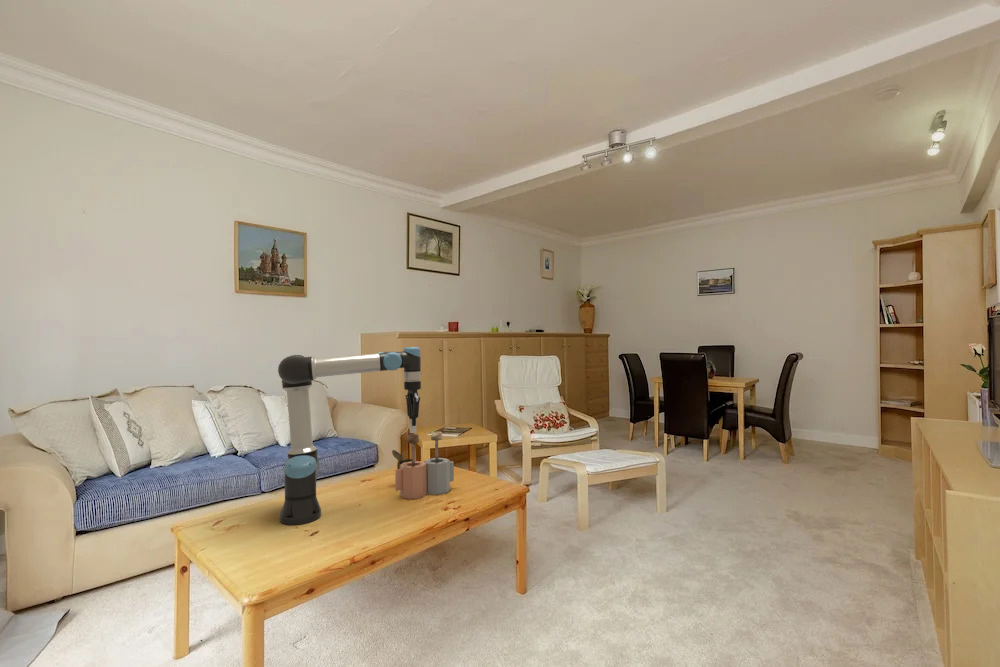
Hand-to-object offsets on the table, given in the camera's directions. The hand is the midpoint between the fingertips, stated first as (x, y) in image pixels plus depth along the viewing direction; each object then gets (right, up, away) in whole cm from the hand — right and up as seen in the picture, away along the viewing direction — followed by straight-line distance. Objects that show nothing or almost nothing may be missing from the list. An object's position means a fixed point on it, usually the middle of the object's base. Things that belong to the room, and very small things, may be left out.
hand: (413, 432), depth 217 cm
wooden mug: (-7, -29, +17) cm, 34 cm away
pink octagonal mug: (-1, -28, -1) cm, 28 cm away
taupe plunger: (0, -17, 0) cm, 17 cm away
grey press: (+11, -28, +6) cm, 31 cm away
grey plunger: (+10, -17, +5) cm, 21 cm away
